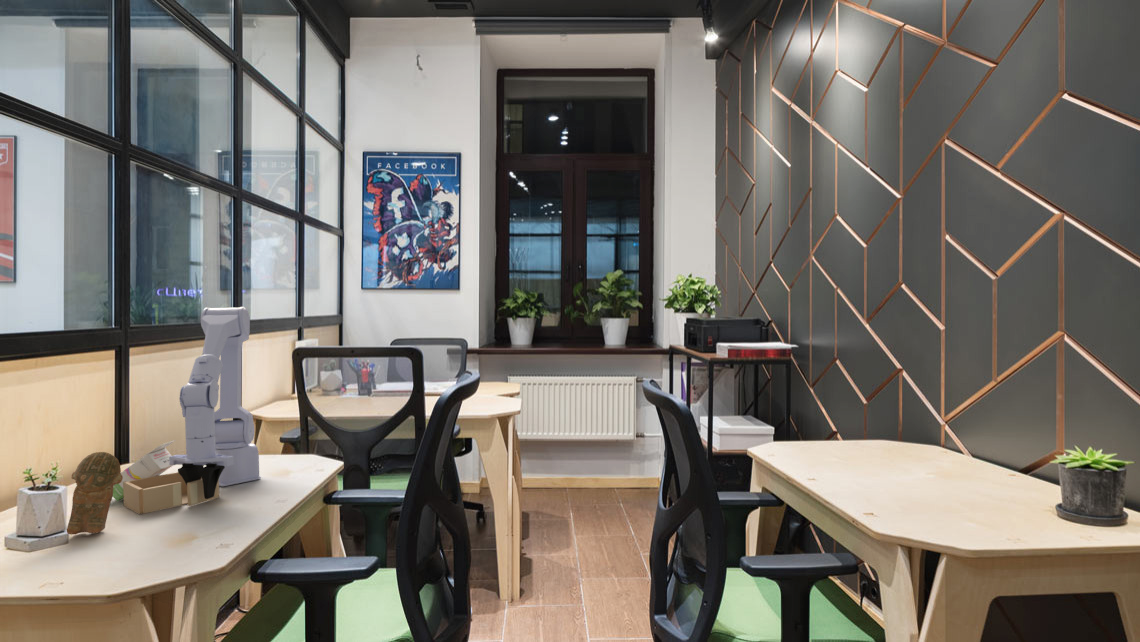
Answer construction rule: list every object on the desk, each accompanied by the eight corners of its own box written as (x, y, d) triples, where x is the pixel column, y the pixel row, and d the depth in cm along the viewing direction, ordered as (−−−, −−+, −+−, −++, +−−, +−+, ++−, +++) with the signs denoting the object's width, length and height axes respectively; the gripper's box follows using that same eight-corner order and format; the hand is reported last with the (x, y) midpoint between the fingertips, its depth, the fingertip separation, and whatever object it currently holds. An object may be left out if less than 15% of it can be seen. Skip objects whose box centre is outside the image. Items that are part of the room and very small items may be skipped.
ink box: (116, 502, 148) (172, 461, 149) (102, 485, 147) (158, 444, 149) (136, 493, 156) (189, 454, 158) (123, 477, 156) (176, 438, 157)
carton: (201, 489, 157) (200, 467, 157) (219, 497, 150) (218, 474, 150) (123, 505, 145) (123, 482, 145) (139, 514, 138) (138, 489, 138)
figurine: (65, 542, 122) (62, 462, 121) (74, 529, 129) (72, 454, 129) (119, 534, 126) (117, 456, 125) (126, 522, 133) (123, 449, 133)
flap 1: (180, 504, 144) (179, 482, 144) (182, 505, 143) (181, 482, 143) (143, 512, 138) (142, 489, 138) (144, 513, 138) (143, 489, 138)
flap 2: (216, 496, 149) (216, 475, 149) (219, 497, 149) (218, 475, 149) (187, 505, 143) (187, 483, 143) (190, 506, 142) (189, 483, 142)
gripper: (157, 439, 142) (159, 501, 142) (217, 440, 139) (219, 503, 139) (182, 433, 149) (183, 492, 149) (239, 434, 146) (240, 494, 146)
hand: (202, 497), depth 145 cm, fingers open, 3 cm apart
